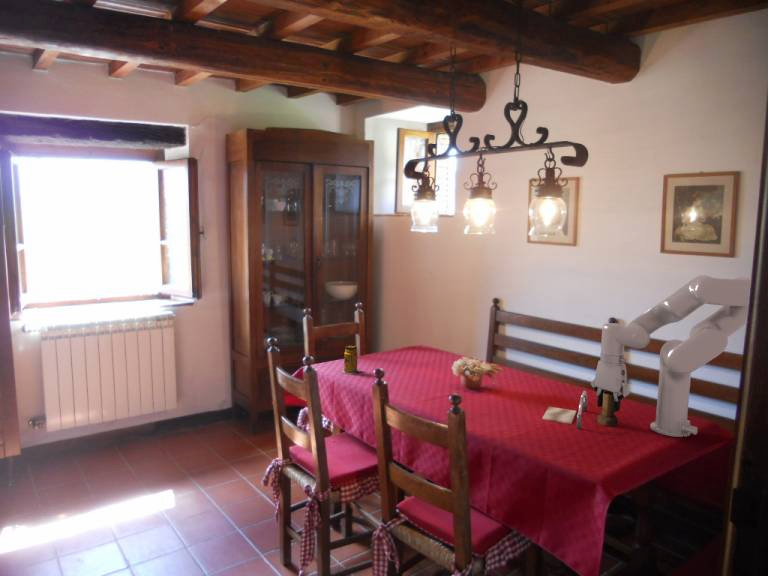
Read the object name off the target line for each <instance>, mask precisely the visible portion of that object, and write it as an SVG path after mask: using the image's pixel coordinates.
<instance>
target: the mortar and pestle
mask: <svg viewBox="0 0 768 576" xmlns="http://www.w3.org/2000/svg"><path fill="white" fill-rule="evenodd" d="M614 400H615V399H614V394H613V392H610V391H607V390H605V392H603V406H602V410H601V413H600V414H598V415H597V423H598V424H599V425H601V426H605V427H617V426H618V417H617V416H616V415H615V412H613V411H612V408H613V401H614Z"/></svg>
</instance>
